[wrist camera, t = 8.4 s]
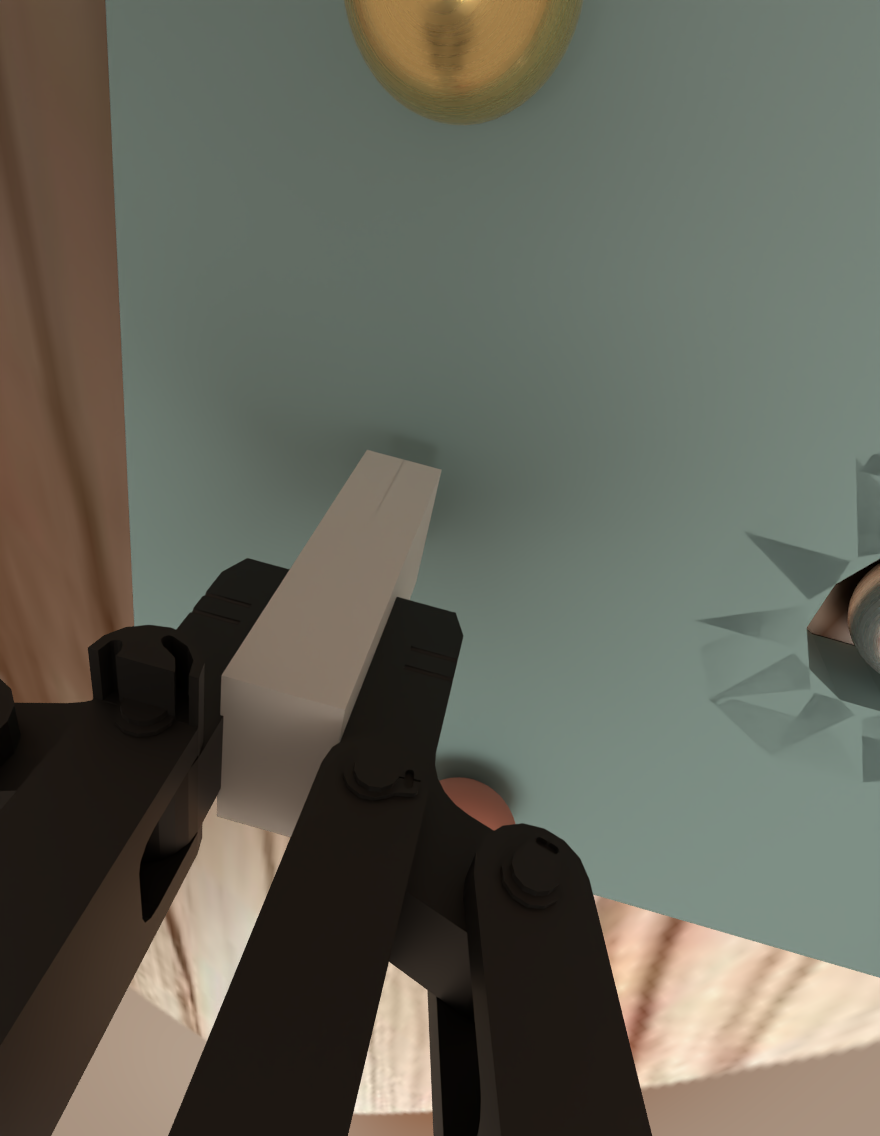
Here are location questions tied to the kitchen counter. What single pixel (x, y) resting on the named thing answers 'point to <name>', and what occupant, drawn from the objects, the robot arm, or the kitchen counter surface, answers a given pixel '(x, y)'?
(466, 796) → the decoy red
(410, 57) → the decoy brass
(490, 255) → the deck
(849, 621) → the steel ball
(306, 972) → the robot arm
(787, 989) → the kitchen counter surface
